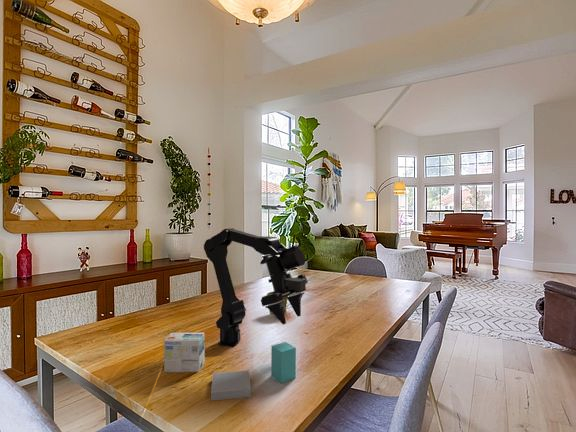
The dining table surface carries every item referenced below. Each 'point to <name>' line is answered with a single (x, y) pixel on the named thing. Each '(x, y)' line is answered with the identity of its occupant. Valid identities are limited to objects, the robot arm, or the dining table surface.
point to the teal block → (283, 362)
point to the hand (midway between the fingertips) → (292, 320)
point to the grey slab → (230, 385)
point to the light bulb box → (184, 352)
